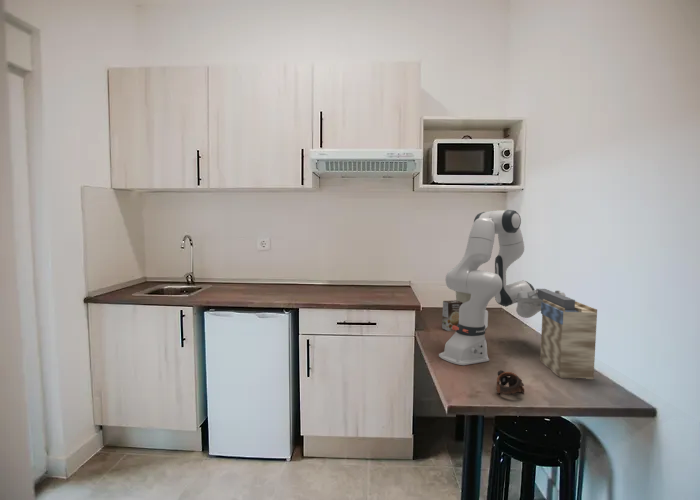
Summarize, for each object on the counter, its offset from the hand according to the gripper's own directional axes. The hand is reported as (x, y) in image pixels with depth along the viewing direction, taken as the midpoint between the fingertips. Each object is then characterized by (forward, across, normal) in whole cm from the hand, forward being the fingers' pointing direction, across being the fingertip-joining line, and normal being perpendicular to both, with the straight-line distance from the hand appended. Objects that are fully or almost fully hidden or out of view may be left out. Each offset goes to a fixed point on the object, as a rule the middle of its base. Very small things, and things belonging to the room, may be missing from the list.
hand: (547, 291), depth 159 cm
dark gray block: (+3, 0, +6) cm, 7 cm away
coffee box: (-52, -32, +5) cm, 62 cm away
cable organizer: (-58, -20, +2) cm, 61 cm away
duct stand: (-4, +3, +32) cm, 33 cm away
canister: (-83, -15, -13) cm, 86 cm away
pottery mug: (+16, -28, +44) cm, 54 cm away
